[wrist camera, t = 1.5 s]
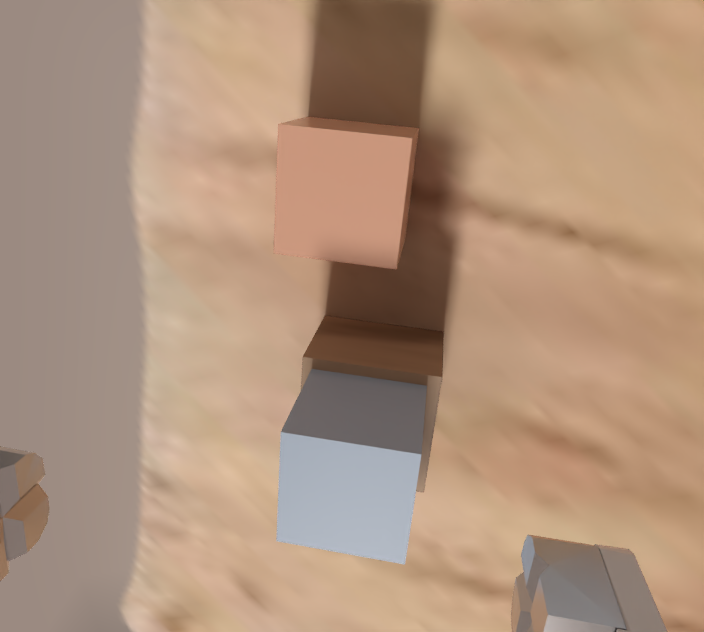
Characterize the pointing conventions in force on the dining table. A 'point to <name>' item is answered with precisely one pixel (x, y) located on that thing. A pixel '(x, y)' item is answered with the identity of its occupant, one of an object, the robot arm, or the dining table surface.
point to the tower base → (382, 362)
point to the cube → (343, 190)
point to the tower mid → (351, 465)
